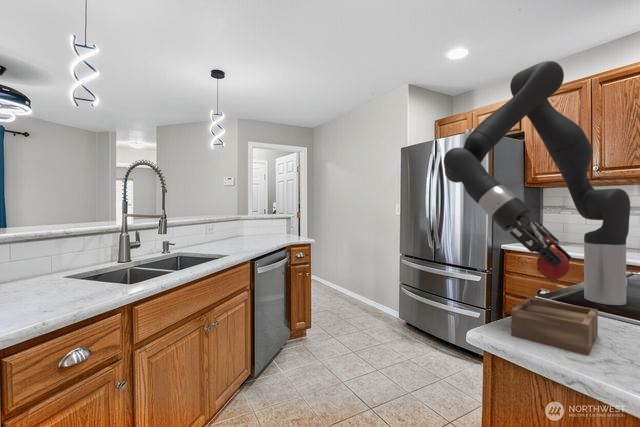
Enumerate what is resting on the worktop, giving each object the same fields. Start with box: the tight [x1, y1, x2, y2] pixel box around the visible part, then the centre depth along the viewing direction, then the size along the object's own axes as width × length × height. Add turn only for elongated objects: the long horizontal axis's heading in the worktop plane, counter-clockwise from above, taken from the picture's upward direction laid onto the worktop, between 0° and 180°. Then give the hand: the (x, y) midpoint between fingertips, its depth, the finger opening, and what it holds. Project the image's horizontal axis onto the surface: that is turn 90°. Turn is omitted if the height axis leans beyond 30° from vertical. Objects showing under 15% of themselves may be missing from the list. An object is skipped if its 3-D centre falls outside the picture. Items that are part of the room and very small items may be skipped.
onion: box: [536, 245, 571, 282], centre depth 68 cm, size 6×6×8 cm
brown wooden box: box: [510, 297, 599, 357], centre depth 68 cm, size 13×13×6 cm
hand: (563, 262), depth 67 cm, fingers closed on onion, 5 cm apart
